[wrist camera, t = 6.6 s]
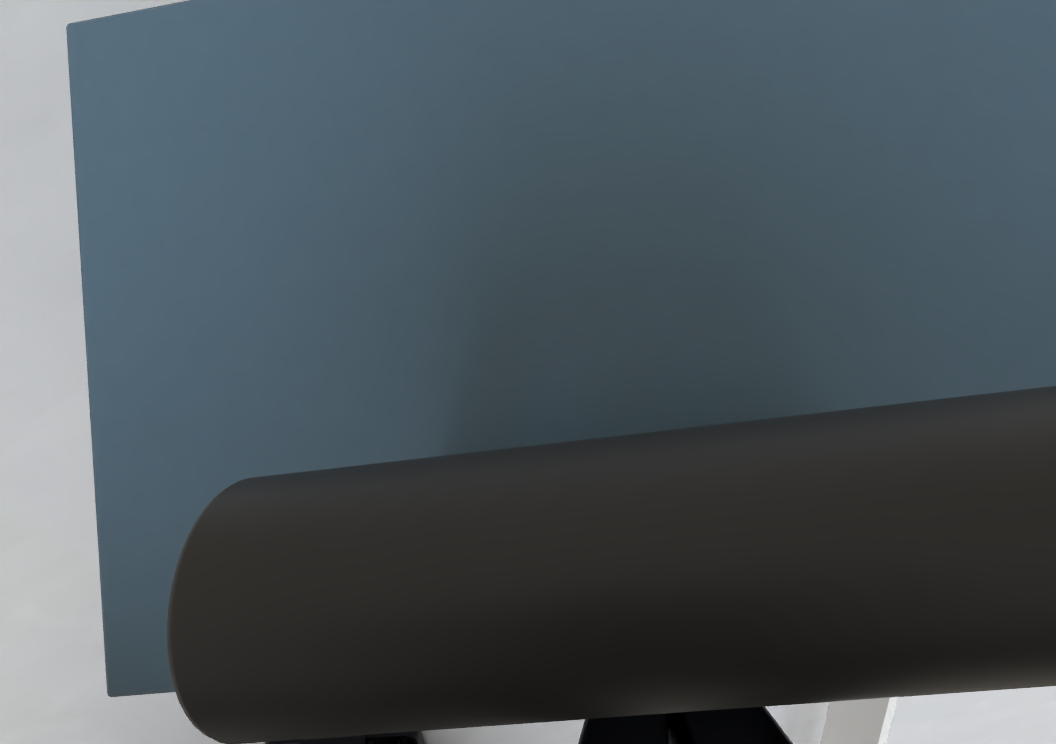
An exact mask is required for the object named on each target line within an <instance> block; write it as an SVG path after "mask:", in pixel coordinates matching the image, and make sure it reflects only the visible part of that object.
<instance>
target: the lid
mask: <svg viewBox="0 0 1056 744" xmlns="http://www.w3.org/2000/svg"><path fill="white" fill-rule="evenodd" d="M66 29H67V45H68V61H69V77H70V94H71V110H72V126H73V143H74V159H75V175H76V191H77V208H78V224H79V240H80V256H81V273H82V289H83V305H84V321H85V338H86V354H87V370H88V386H89V403H90V419H91V435H92V452H93V468H94V484H95V500H96V517H97V533H98V549H99V565H100V582H101V598H102V614H103V630H104V647H105V663H106V679H107V694H108V696H110V697H117V696H130V695H142V694H154V693H167V692H176V694H177V697H178V700H179V702H180V704H181V706H182V708H183V710H184V712H185V714H186V716H187V717H188V718H189V720H190V721H191V722H192V724H193V725H194V726H195V727H196V728H197V729H198V730H199V731H201V732H202V733H203V734H204V735H206V736H208V737H210V738H212V739H214V740H216V741H218V742H220V743H226V744H241V743H255V742H269V741H284V740H298V739H312V738H326V737H340V736H354V735H368V734H382V733H396V732H410V731H424V730H439V729H453V728H467V727H481V726H495V725H509V724H523V723H537V722H551V721H565V720H579V719H594V718H608V717H622V716H636V715H650V714H664V713H678V712H692V711H706V710H720V709H734V708H749V707H763V706H777V705H791V704H805V703H819V702H833V701H847V700H861V699H875V698H889V697H904V696H918V695H932V694H946V693H960V692H974V691H988V690H1002V689H1016V688H1030V687H1044V686H1056V0H189V1H184V2H179V3H174V4H168V5H163V6H158V7H153V8H148V9H143V10H137V11H132V12H127V13H122V14H117V15H112V16H106V17H101V18H96V19H91V20H86V21H81V22H75V23H70V24H68V25H67V27H66Z"/></svg>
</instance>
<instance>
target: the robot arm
mask: <svg viewBox="0 0 1056 744" xmlns="http://www.w3.org/2000/svg"><path fill="white" fill-rule="evenodd" d="M265 744H424V742H423V739H422V737H421V734H420V732H419V731H410V732H396V733H382V734H368V735H354V736H340V737H326V738H312V739H298V740H284V741H269V742H265ZM578 744H793V743H792V742H791V740H790V739H789V738H788V736H787V735H786V734H785V733H784V731H783V730H782V729H781V727H780V726H779V725H778V723H777V722H776V721H775V719H774V718H773V717H772V716H771V714H770V713H769V712H768V710H767V709H766V708H765V706H763V707H749V708H734V709H720V710H706V711H692V712H678V713H664V714H650V715H636V716H622V717H608V718H594V719H585V721H584V725H583V728H582V732H581V735H580V739H579V743H578Z"/></svg>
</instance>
